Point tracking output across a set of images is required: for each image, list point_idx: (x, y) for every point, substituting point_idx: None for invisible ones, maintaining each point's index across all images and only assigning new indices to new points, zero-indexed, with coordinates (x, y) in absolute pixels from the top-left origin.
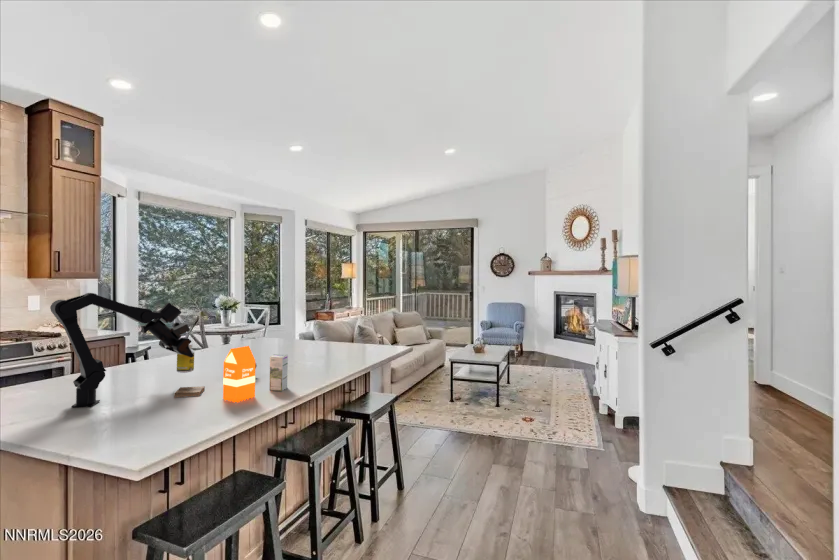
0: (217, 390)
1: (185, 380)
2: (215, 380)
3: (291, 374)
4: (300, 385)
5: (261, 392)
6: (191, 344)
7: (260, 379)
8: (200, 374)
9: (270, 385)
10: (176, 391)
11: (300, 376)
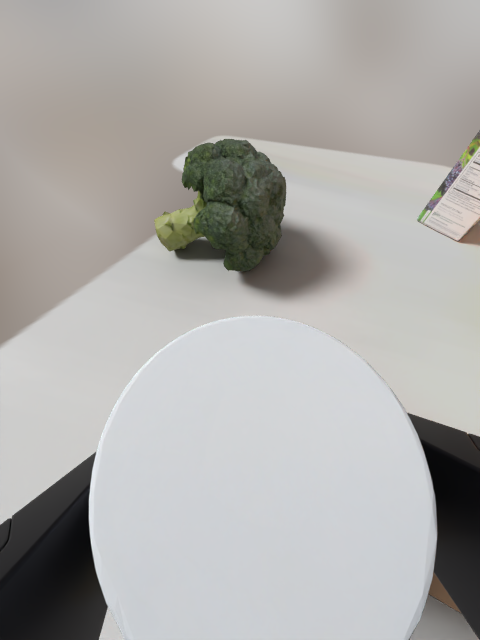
0: (392, 366)
1: (90, 434)
2: (201, 322)
3: (273, 157)
4: (416, 179)
5: (475, 263)
6: (343, 345)
7: (287, 217)
8: (30, 338)
9: (472, 226)
10: (449, 602)
11: (310, 153)
